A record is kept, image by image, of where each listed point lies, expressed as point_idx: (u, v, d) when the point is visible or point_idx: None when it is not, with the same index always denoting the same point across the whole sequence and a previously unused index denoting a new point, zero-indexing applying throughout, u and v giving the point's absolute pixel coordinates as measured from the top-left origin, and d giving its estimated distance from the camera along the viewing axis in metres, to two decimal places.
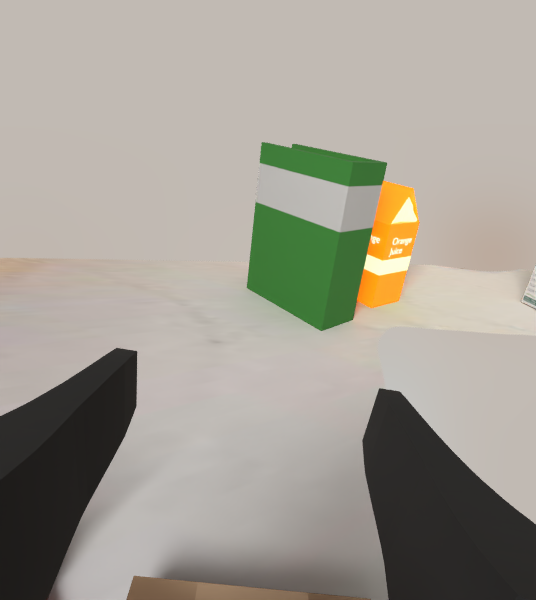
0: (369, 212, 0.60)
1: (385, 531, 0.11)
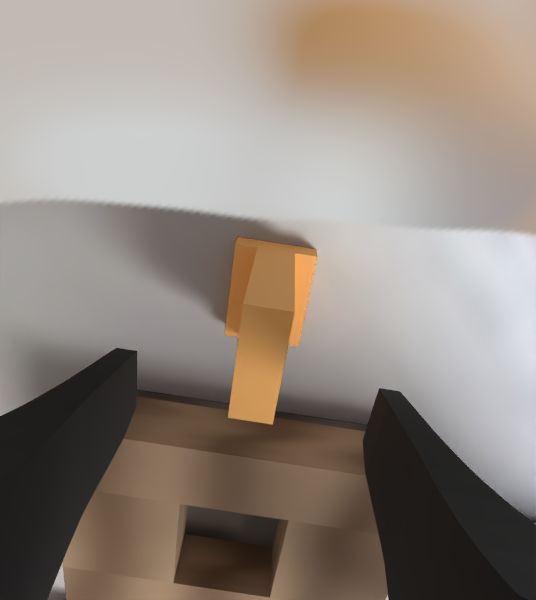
0: None
1: (385, 531, 0.11)
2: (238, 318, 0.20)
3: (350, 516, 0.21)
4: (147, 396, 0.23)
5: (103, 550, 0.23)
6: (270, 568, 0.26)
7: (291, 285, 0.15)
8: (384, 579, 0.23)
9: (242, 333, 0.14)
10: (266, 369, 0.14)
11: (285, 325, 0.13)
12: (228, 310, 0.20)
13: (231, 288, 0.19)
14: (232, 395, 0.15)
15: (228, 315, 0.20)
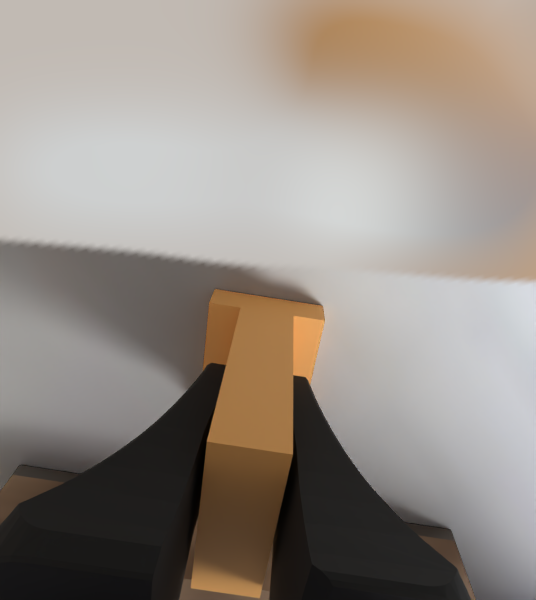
0: None
1: None
2: None
3: None
4: None
5: None
6: None
7: (287, 386, 0.10)
8: None
9: (207, 482, 0.08)
10: (248, 530, 0.09)
11: (277, 472, 0.08)
12: None
13: (205, 360, 0.14)
14: (196, 561, 0.09)
15: None
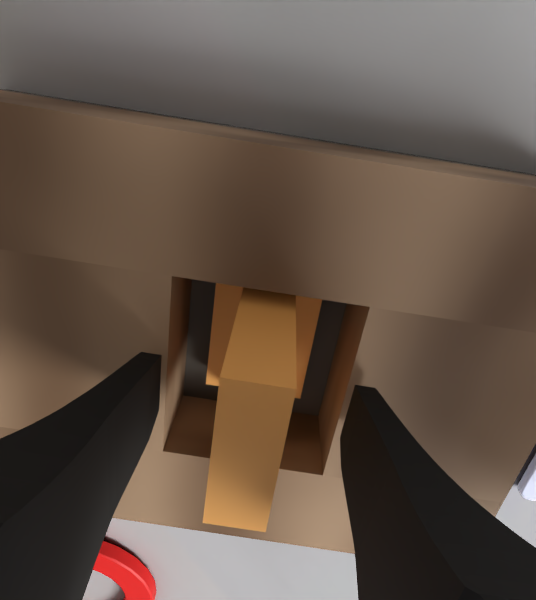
0: None
1: (357, 527, 0.11)
2: (223, 364, 0.15)
3: (486, 292, 0.11)
4: (115, 108, 0.13)
5: (42, 387, 0.14)
6: (318, 439, 0.16)
7: (291, 338, 0.11)
8: (524, 432, 0.13)
9: (219, 417, 0.09)
10: (255, 464, 0.10)
11: (282, 406, 0.09)
12: (210, 354, 0.15)
13: (213, 327, 0.15)
14: (208, 496, 0.10)
15: (210, 360, 0.15)
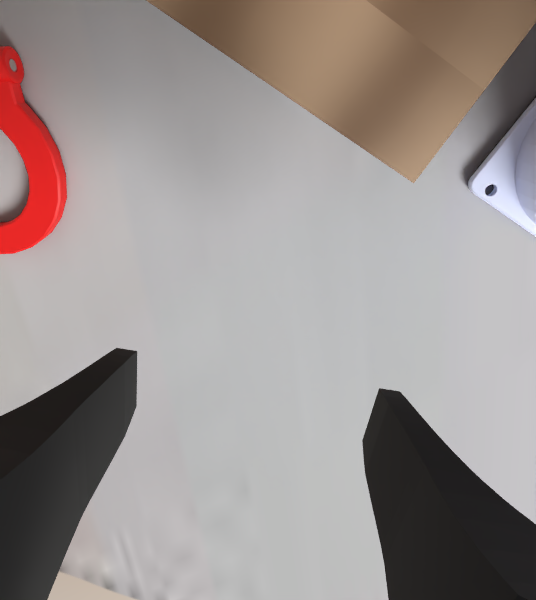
0: None
1: (385, 531, 0.11)
2: None
3: None
4: None
5: None
6: None
7: None
8: None
9: None
10: None
11: None
12: None
13: None
14: None
15: None
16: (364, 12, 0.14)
